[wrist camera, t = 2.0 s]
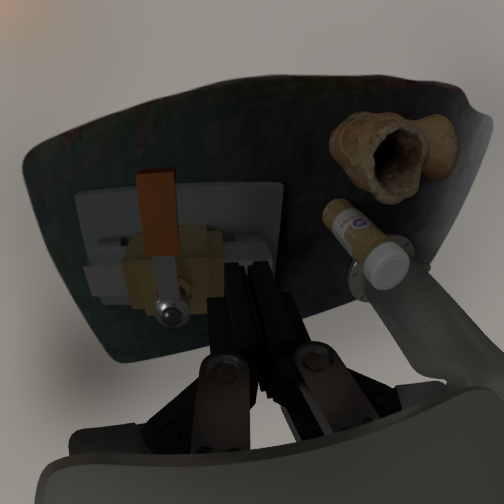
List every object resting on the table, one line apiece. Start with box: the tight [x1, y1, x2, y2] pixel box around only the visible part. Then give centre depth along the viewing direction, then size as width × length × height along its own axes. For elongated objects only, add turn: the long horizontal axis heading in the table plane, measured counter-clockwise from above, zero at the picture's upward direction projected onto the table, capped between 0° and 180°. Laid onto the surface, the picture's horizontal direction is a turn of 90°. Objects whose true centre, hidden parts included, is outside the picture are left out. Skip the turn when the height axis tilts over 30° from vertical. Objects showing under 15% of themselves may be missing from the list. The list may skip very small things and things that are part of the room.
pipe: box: [329, 112, 459, 205], centre depth 27 cm, size 9×16×10 cm, turn 98°
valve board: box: [75, 182, 284, 305], centre depth 33 cm, size 24×16×2 cm, turn 87°
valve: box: [83, 224, 273, 315], centre depth 29 cm, size 20×7×9 cm, turn 87°
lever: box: [136, 167, 190, 327], centre depth 21 cm, size 14×3×2 cm, turn 177°
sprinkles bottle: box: [323, 199, 410, 290], centre depth 30 cm, size 5×4×14 cm
